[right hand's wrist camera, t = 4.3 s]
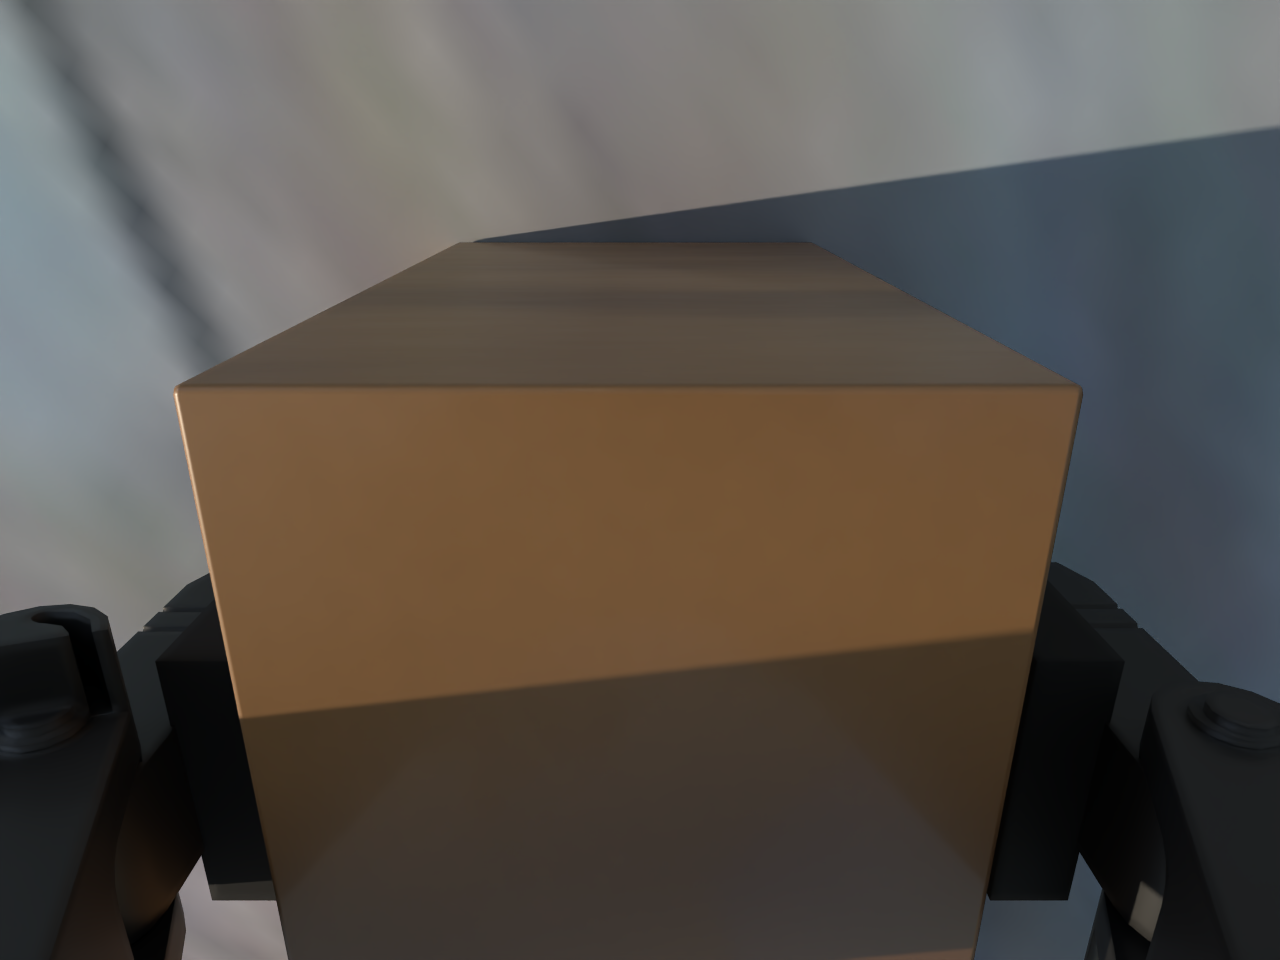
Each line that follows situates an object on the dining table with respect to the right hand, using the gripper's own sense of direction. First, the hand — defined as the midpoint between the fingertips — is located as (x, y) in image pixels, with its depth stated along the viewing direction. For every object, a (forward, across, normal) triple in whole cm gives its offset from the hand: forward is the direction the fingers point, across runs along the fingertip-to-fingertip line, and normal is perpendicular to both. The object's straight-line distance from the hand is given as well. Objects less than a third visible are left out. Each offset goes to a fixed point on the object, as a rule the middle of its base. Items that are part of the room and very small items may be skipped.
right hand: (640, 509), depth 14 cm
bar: (+1, 0, -7) cm, 7 cm away
